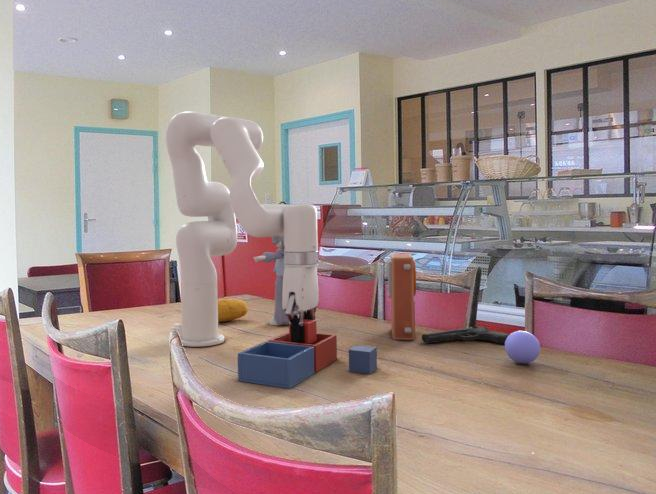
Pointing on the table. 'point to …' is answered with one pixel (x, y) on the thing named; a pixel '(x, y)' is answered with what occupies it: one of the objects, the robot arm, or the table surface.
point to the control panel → (402, 295)
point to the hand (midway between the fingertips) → (303, 340)
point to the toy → (277, 279)
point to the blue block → (362, 359)
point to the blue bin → (276, 364)
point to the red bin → (316, 348)
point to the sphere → (522, 347)
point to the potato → (231, 309)
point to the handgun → (466, 335)
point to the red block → (308, 331)
